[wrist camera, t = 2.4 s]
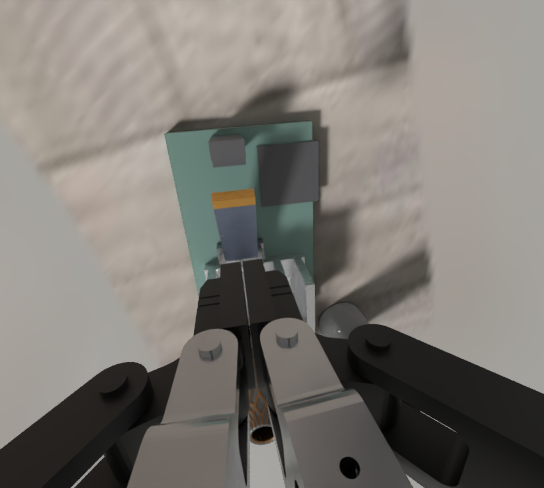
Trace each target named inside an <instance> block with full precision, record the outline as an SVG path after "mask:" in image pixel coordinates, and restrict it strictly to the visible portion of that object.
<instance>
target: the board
mask: <svg viewBox="0 0 544 488" xmlns="http://www.w3.org/2000/svg"><path fill="white" fill-rule="evenodd" d="M231 134H241V135H242V136H243V138H244V141H245V151H246V165H237V166H226V167H216V168H213V164H212V161H211V157H210V151H209V144H208V142H209V140H210V138H211V136H219V135H231ZM164 135H165V139H166V144H167V149H168V154H169V158H170V163H171V168H172V172H173V177H174V182H175V187H176V191H177V196H178V201H179V205H180V210H181V215H182V220H183V224H184V229H185V234H186V238H187V243H188V248H189V252H190V257H191V262H192V267H193V271H194V276H195V281H196V285H197V290H198V295H199V293H200V288H201V287H202V286H203V284H204V283H205V282H206V277H205V272H204V268H205V264H211V263H218V262H219V261H218V255H217V249H216V247H217V243H221V240H220V236H219V231H218V227H217V222H216V218H215V213H214V209H213V205H212V195H211V193H216V192H225V191H235V190H244V189H254V193H255V203H256V223H257V238H262V239H263V243H264V253H265V256H272V255H280V254H288V253H296V252H302V253H303V255H304V257H305V266H306V268H307V270H308V272H309V274H310V276H311V278H312V280H313V282H314V257H313V201H319V141H312V121H298V122H286V123H274V124H262V125H250V126H238V127H226V128H214V129H202V130H190V131H178V132H167V133H165V134H164Z"/></svg>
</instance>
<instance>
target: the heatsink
mask: <svg viewBox="0 0 544 488" xmlns="http://www.w3.org/2000/svg"><path fill="white" fill-rule="evenodd" d="M257 244H258V249H259V248H262V250H263V256H264V264H263V265H264V269H265V272H266V271H273V270H279V271H280V272H281V273H283V274H284V275H285V276H286V277H287V279H288V282H289V284H290V287H291V290H292V293H293V295H294V298H295V300H296V303H297V306H298V308H299V311H300V313H301V316H302V319H303V321H304V322H306V323H307V324H308V325H309V326H310V327H311V328H312V329H313V331H314V332H315V284H314V282H313V280H312V278H311V276H310V274H309V272H308V270H307V268H306V266H305V257H304V255H303V253H302V252H296V253H288V254H280V255H272V256H265V253H264V243H263V239H262V238H257ZM216 249H217V255H218V261H219V254H220V253H223V249H222V245H221V243H217V247H216ZM241 269H242V276H243V284H244V291H245V299H246V307H247V315H248V324H249V325H250V321H249V313H248V305H247V296H246V288H245V280H244V271H243V267H241ZM204 272H205V277H206V281H207V280H208V279H215V278H220V261H219V262H218V263H211V264H205V268H204Z"/></svg>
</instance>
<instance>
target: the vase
mask: <svg viewBox="0 0 544 488" xmlns="http://www.w3.org/2000/svg"><path fill="white" fill-rule="evenodd" d="M250 341H251V350H252V359H253V367H254V376H255V385H256V389H252V390H249V399H250V408H249V418H250V442H252V443H254V444H257V445H264V444H268V443H271V442H273V441H274V440H275V439H274V435H273V431H272V426H271V422H270V418H269V412H268V404H267V396H266V390H265V387H262V388H258V383H257V375H256V367H255V360H254V352H253V344H252V337H251V334H250Z"/></svg>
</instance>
